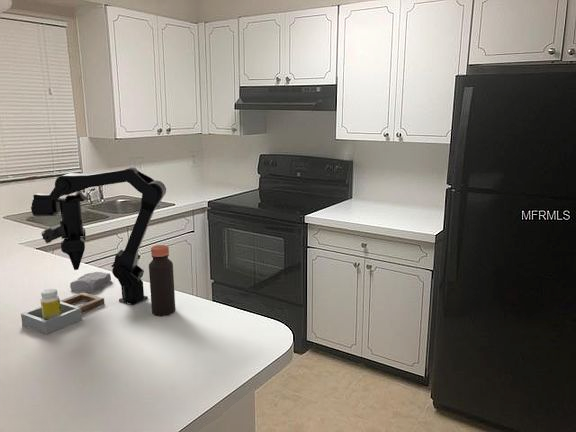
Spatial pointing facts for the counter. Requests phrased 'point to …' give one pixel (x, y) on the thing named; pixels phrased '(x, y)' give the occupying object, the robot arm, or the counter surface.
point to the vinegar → (161, 282)
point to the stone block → (90, 282)
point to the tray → (36, 321)
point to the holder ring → (91, 299)
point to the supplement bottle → (50, 304)
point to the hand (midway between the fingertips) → (76, 265)
